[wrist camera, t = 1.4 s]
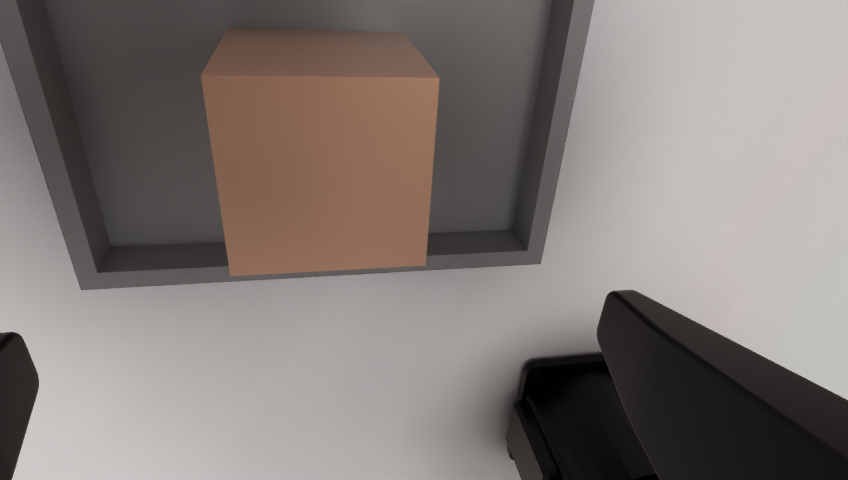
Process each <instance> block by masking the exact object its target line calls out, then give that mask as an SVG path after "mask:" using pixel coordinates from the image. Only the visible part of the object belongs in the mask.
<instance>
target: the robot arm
mask: <svg viewBox="0 0 848 480" xmlns="http://www.w3.org/2000/svg"><path fill="white" fill-rule="evenodd" d="M597 338H598V342H599V345H600V348H601V350H602V353H603V355H593V356H582V357H571V358H560V359H550V360H539V361H533V362H530V363H528V364H527V365H526V366H525V368H524V370H523V375H522V379H521V384H520V389H519V394H518V398H517V400H516V402H515V403H514V405H513V407H512V412H511V417H510V422H509V427H508V432H507V437H506V440H507V443H508V446H507V451H508V454H509V457H510V458H511V459H513V460H514V461H515V464H516V466H517V469H518V472H519V474H520V477H521V479H522V480H848V400H846V399H844V398H842V397H841V396H839V395H837V394H835V393H833V392H831V391H829V390H827V389H825V388H823V387H821V386H819V385H817V384H815V383H813V382H811V381H809V380H807V379H806V378H804V377H802V376H800V375H798V374H796V373H794V372H792V371H790V370H788V369H786V368H784V367H782V366H780V365H778V364H776V363H774V362H773V361H771V360H769V359H767V358H765V357H763V356H761V355H759V354H757V353H755V352H753V351H751V350H749V349H747V348H745V347H743V346H741V345H739V344H738V343H736V342H734V341H732V340H730V339H728V338H726V337H724V336H722V335H720V334H718V333H716V332H714V331H712V330H710V329H708V328H706V327H705V326H703V325H701V324H699V323H697V322H695V321H693V320H691V319H689V318H687V317H685V316H683V315H681V314H679V313H677V312H675V311H673V310H672V309H670V308H668V307H666V306H664V305H662V304H660V303H658V302H656V301H654V300H652V299H650V298H648V297H646V296H644V295H642V294H640V293H639V292H637V291H634V290H620V291H612V292H610V293H609V294H608V295H607V297H606V299H605V303H604V306H603V310H602V313H601V317H600V320H599V324H598V328H597ZM38 387H39V378H38V373H37V371H36V368H35V366H34V363H33V361H32V359H31V356H30V354H29V351H28V349H27V347H26V344H25V342H24V340H23V338H22V337H21V336H20V335H19V334H18V333H15V332H5V333H0V480H12V477H13V474H14V471H15V467H16V464H17V461H18V457H19V454H20V450H21V447H22V444H23V440H24V437H25V433H26V430H27V427H28V423H29V420H30V416H31V413H32V410H33V406H34V403H35V399H36V396H37V393H38Z"/></svg>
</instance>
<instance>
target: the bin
mask: <svg viewBox="0 0 848 480" xmlns="http://www.w3.org/2000/svg"><path fill="white" fill-rule="evenodd" d="M593 4H594V0H0V42H1V45H2V48H3V51H4V54H5V57H6V60H7V63H8V66H9V69H10V72H11V76H12V79H13V82H14V85H15V88H16V91H17V94H18V97H19V100H20V103H21V106H22V110H23V113H24V116H25V119H26V122H27V125H28V128H29V131H30V134H31V137H32V140H33V144H34V147H35V150H36V153H37V156H38V159H39V162H40V165H41V168H42V171H43V174H44V178H45V181H46V184H47V187H48V190H49V193H50V196H51V199H52V202H53V205H54V208H55V212H56V215H57V218H58V221H59V224H60V227H61V230H62V233H63V236H64V239H65V242H66V246H67V249H68V252H69V255H70V258H71V261H72V264H73V267H74V270H75V273H76V276H77V279H78V283H79V286H80V289H81V290H90V289H107V288H125V287H142V286H160V285H178V284H195V283H213V282H230V281H248V280H265V279H283V278H301V277H318V276H336V275H353V274H371V273H389V272H406V271H424V270H441V269H459V268H476V267H494V266H512V265H529V264H541V259H542V254H543V249H544V244H545V240H546V235H547V230H548V225H549V220H550V215H551V210H552V205H553V200H554V195H555V191H556V186H557V181H558V176H559V171H560V166H561V161H562V156H563V151H564V146H565V142H566V137H567V132H568V127H569V122H570V117H571V112H572V107H573V102H574V97H575V93H576V88H577V83H578V78H579V73H580V68H581V63H582V58H583V53H584V48H585V44H586V39H587V34H588V29H589V24H590V19H591V14H592V9H593ZM228 28H259V29H296V30H333V31H370V32H404V33H405V34H406V35H407V36H408V38H409V39H410V40H411V42H412V43H413V44H414V45H415V47H416V48H417V49H418V51H419V52H420V53H421V54H422V56H423V57H424V58H425V60H426V61H427V62H428V63H429V65H430V66H431V67H432V69H433V70H434V71H435V72H436V74H437V75H438V76H439V78H440V80H439V94H438V107H437V120H436V134H435V147H434V160H433V174H432V187H431V201H430V214H429V227H428V241H427V254H426V266H408V267H390V268H372V269H353V270H335V271H317V272H299V273H281V274H263V275H245V276H230V270H229V264H228V257H227V250H226V243H225V236H224V230H223V223H222V216H221V209H220V203H219V196H218V189H217V182H216V176H215V169H214V162H213V155H212V148H211V142H210V135H209V128H208V121H207V115H206V108H205V101H204V94H203V87H202V81H201V74H202V72H203V70H204V69H205V67H206V65H207V63H208V62H209V60H210V58H211V56H212V55H213V53H214V51H215V50H216V48H217V46H218V44H219V43H220V41H221V39H222V37H223V36H224V34H225V32H226V31H227V29H228Z"/></svg>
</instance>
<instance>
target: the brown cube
mask: <svg viewBox="0 0 848 480" xmlns="http://www.w3.org/2000/svg"><path fill="white" fill-rule="evenodd" d="M439 80H440V78H439V76H438V75H437V74H436V72H435V71H434V70H433V69H432V67H431V66H430V65H429V63H428V62H427V61H426V60H425V58H424V57H423V56H422V54H421V53H420V52H419V51H418V49H417V48H416V47H415V45H414V44H413V43H412V42H411V40H410V39H409V38H408V36H407V35H406V34H405V33H404V32H370V31H333V30H296V29H259V28H228V29H227V31H226V32H225V34H224V36H223V37H222V39H221V41H220V43H219V44H218V46H217V48H216V50H215V51H214V53H213V55H212V56H211V58H210V60H209V62H208V63H207V65H206V67H205V69H204V70H203V72H202V74H201V81H202V87H203V94H204V101H205V108H206V115H207V121H208V128H209V135H210V142H211V148H212V155H213V162H214V169H215V176H216V182H217V189H218V196H219V203H220V209H221V216H222V223H223V230H224V236H225V243H226V250H227V257H228V264H229V270H230V276H245V275H263V274H281V273H299V272H317V271H335V270H353V269H372V268H390V267H408V266H426V254H427V241H428V227H429V214H430V201H431V187H432V174H433V160H434V147H435V134H436V120H437V107H438V94H439Z"/></svg>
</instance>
